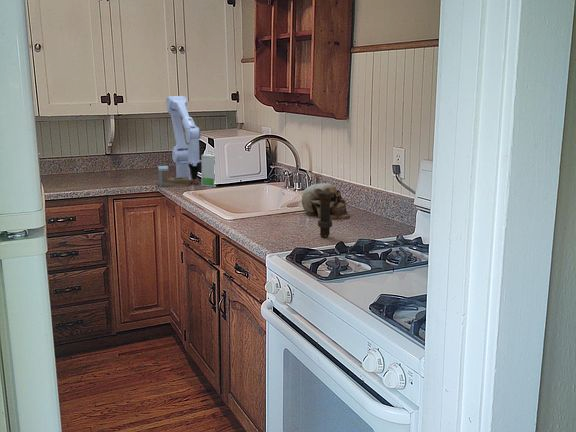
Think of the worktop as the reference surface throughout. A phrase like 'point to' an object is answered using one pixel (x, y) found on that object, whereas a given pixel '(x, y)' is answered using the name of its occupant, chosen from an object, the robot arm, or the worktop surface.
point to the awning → (160, 169)
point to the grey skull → (313, 201)
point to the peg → (193, 180)
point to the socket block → (175, 181)
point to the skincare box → (208, 170)
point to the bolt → (325, 212)
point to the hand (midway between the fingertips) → (194, 178)
